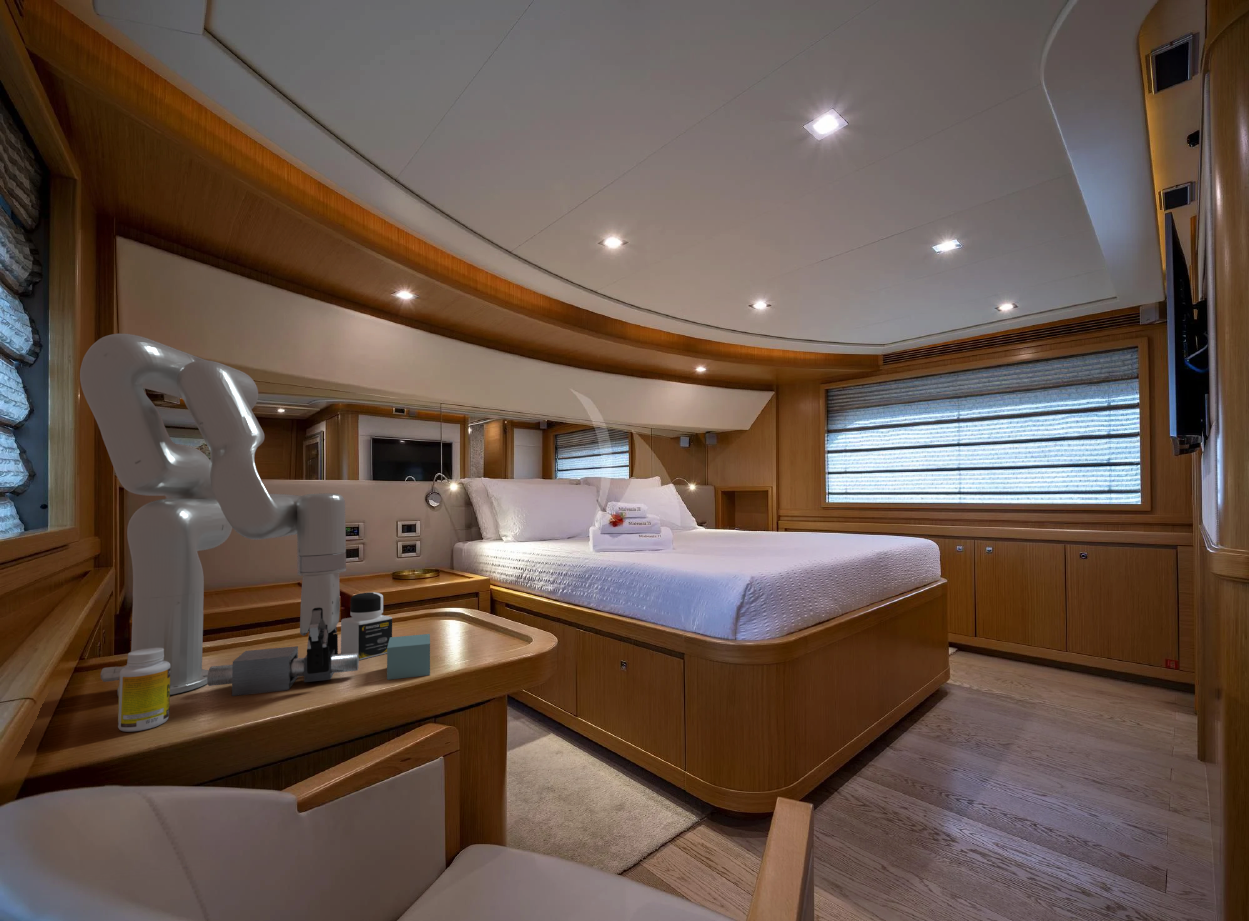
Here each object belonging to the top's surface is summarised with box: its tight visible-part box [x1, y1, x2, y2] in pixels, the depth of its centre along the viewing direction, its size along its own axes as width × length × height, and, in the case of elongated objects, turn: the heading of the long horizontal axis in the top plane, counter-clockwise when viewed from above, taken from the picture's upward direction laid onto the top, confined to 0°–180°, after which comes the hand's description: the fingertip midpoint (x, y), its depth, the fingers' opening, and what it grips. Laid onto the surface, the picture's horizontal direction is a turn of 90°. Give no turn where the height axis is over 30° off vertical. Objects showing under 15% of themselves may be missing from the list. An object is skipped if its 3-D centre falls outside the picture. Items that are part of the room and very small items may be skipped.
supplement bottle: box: [117, 648, 171, 733], centre depth 82 cm, size 6×6×10 cm
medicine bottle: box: [340, 591, 393, 661], centre depth 118 cm, size 7×7×12 cm
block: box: [386, 633, 431, 681], centre depth 105 cm, size 7×8×5 cm
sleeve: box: [231, 646, 299, 697], centre depth 98 cm, size 8×7×5 cm
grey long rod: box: [207, 649, 360, 687], centre depth 99 cm, size 22×4×4 cm, turn 109°
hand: (323, 664), depth 100 cm, fingers open, 9 cm apart
